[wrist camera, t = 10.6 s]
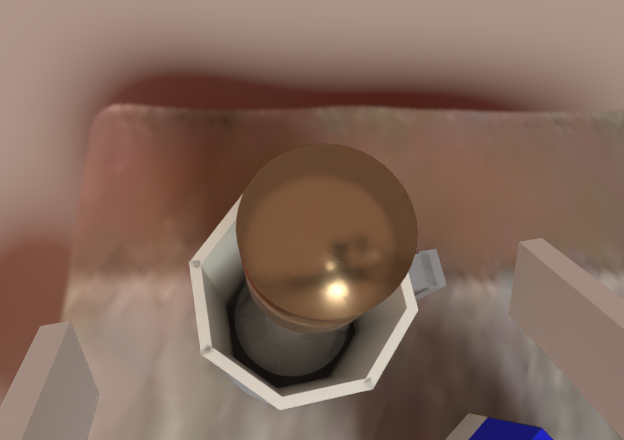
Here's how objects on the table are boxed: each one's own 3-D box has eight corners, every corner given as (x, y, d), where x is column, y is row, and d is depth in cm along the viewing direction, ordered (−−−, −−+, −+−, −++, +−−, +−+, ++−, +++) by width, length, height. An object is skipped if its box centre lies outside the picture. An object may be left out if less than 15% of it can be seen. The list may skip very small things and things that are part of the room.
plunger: (334, 253, 35) (426, 83, 15) (358, 363, 33) (508, 344, 12) (227, 273, 34) (162, 117, 13) (245, 387, 32) (199, 412, 11)
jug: (366, 230, 39) (422, 147, 25) (404, 381, 35) (494, 386, 21) (201, 259, 37) (157, 187, 23) (223, 422, 33) (189, 457, 19)
